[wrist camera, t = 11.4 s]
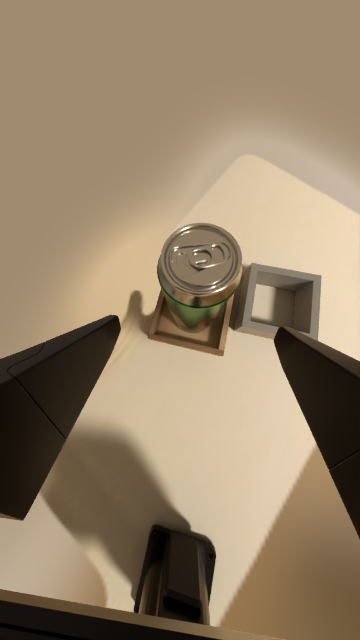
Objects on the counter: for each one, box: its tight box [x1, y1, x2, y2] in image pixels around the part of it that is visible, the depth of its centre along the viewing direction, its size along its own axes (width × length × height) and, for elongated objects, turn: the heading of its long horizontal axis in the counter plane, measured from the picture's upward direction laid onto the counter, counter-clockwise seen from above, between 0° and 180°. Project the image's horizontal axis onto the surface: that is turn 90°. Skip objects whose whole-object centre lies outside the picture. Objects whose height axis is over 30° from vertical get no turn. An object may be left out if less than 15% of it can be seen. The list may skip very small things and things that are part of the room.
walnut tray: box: [148, 288, 234, 356], centre depth 20 cm, size 9×9×2 cm
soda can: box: [157, 223, 242, 333], centre depth 14 cm, size 5×5×12 cm
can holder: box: [234, 263, 321, 341], centre depth 19 cm, size 8×8×3 cm
